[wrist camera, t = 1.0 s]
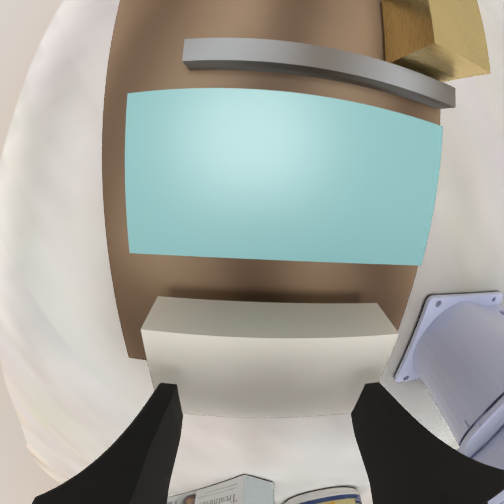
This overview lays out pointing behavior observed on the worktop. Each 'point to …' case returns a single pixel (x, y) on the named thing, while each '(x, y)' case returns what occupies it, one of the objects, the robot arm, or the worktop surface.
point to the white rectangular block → (266, 355)
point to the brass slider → (436, 37)
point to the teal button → (277, 177)
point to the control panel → (250, 77)
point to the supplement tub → (328, 497)
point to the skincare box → (230, 493)
